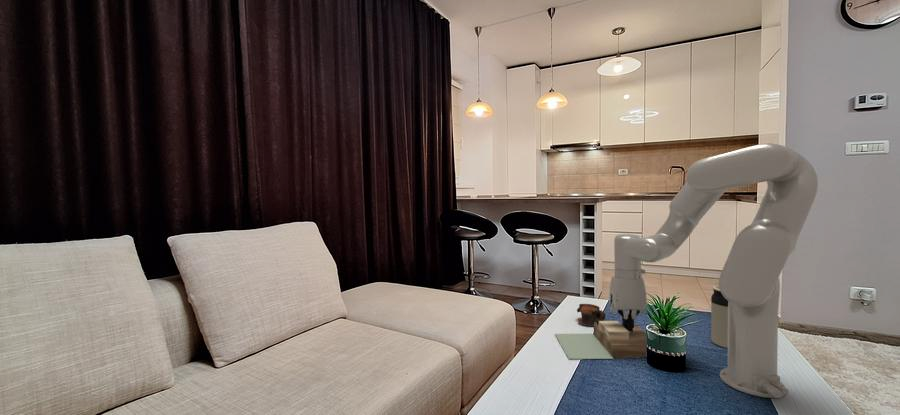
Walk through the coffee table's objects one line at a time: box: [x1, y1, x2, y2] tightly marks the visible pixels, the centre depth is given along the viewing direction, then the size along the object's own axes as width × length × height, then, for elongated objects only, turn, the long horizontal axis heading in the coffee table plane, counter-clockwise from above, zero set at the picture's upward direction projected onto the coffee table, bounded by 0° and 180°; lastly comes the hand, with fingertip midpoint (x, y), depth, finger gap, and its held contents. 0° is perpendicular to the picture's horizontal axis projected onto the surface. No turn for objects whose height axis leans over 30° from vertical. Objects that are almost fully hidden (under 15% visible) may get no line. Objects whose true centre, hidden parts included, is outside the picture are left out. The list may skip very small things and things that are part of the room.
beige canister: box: [710, 284, 728, 349], centre depth 110 cm, size 8×8×18 cm
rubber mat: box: [554, 332, 615, 361], centre depth 113 cm, size 18×13×1 cm
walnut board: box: [593, 323, 647, 359], centre depth 112 cm, size 16×14×4 cm
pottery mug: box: [576, 303, 606, 328], centre depth 131 cm, size 12×9×8 cm
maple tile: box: [599, 320, 629, 340], centre depth 112 cm, size 9×6×2 cm, turn 176°
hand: (628, 329), depth 112 cm, fingers closed
